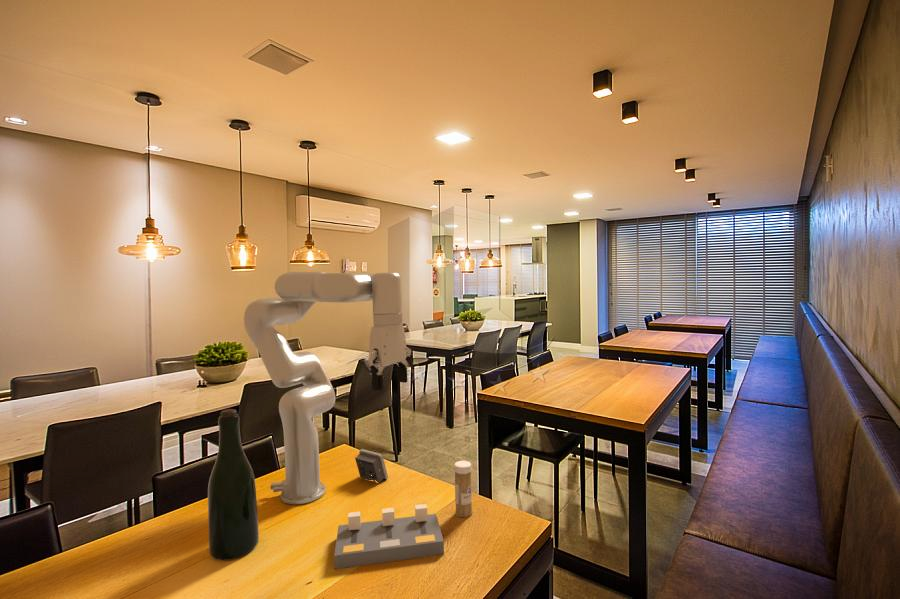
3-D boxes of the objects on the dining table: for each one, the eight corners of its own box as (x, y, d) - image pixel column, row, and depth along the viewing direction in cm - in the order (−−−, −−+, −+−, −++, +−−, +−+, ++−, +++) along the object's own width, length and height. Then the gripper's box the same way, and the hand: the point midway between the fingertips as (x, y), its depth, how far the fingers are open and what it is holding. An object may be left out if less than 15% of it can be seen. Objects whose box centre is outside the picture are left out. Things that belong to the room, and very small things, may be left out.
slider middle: (382, 526, 104) (382, 513, 104) (382, 521, 106) (382, 508, 106) (394, 524, 104) (394, 511, 104) (394, 520, 106) (393, 507, 106)
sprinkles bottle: (470, 519, 112) (468, 468, 112) (453, 516, 114) (451, 466, 113) (474, 510, 117) (473, 460, 116) (458, 507, 118) (456, 459, 118)
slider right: (416, 522, 105) (415, 509, 105) (415, 517, 107) (414, 505, 107) (427, 520, 106) (427, 507, 106) (426, 516, 108) (426, 503, 108)
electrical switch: (388, 479, 136) (385, 451, 135) (377, 488, 132) (374, 459, 131) (367, 473, 142) (364, 446, 140) (355, 481, 137) (352, 453, 136)
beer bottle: (204, 566, 96) (196, 419, 95) (215, 539, 106) (209, 406, 105) (255, 557, 99) (248, 414, 98) (262, 532, 109) (256, 402, 108)
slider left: (348, 530, 103) (348, 517, 102) (349, 525, 104) (348, 512, 104) (360, 529, 103) (360, 515, 103) (360, 524, 105) (360, 511, 105)
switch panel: (334, 569, 94) (334, 555, 94) (338, 537, 106) (338, 525, 106) (444, 554, 98) (443, 540, 98) (436, 525, 110) (436, 513, 110)
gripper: (397, 317, 121) (400, 378, 122) (353, 323, 107) (356, 392, 107) (419, 317, 117) (421, 380, 118) (376, 323, 103) (379, 395, 103)
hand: (390, 386), depth 113 cm, fingers open, 9 cm apart
